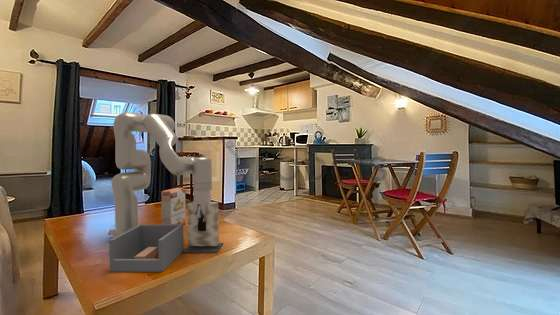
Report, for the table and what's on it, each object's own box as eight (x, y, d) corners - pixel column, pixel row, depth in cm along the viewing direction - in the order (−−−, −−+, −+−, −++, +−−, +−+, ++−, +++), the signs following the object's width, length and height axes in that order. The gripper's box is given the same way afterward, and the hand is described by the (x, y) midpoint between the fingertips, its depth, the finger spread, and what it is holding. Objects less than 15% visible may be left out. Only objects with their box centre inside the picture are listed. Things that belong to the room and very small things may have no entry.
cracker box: (171, 231, 136) (170, 191, 135) (161, 230, 137) (160, 191, 136) (186, 223, 149) (185, 187, 149) (177, 223, 150) (176, 187, 150)
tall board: (188, 246, 110) (187, 203, 110) (191, 243, 113) (190, 202, 113) (216, 246, 110) (216, 203, 109) (218, 243, 113) (218, 201, 112)
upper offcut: (148, 253, 102) (148, 246, 102) (157, 253, 102) (157, 247, 102) (134, 263, 93) (134, 256, 93) (144, 263, 93) (144, 256, 93)
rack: (109, 271, 91) (109, 240, 91) (140, 250, 110) (139, 224, 109) (162, 271, 90) (161, 240, 90) (183, 250, 109) (183, 224, 109)
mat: (183, 253, 107) (183, 251, 107) (191, 244, 117) (191, 242, 117) (217, 253, 106) (217, 251, 106) (223, 244, 116) (223, 242, 116)
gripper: (200, 183, 119) (200, 224, 119) (186, 189, 103) (187, 235, 103) (216, 183, 119) (217, 224, 119) (205, 189, 102) (206, 235, 103)
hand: (203, 229), depth 111 cm, fingers closed on tall board, 3 cm apart
